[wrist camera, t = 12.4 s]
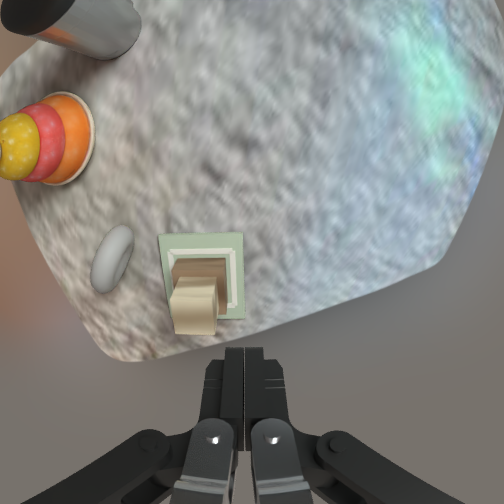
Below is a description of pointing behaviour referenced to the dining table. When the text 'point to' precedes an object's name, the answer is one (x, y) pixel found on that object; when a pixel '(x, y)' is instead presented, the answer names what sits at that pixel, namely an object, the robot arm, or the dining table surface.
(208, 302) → the maple block
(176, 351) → the dining table surface
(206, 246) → the build board
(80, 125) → the stacking toy
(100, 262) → the donut
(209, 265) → the walnut block
